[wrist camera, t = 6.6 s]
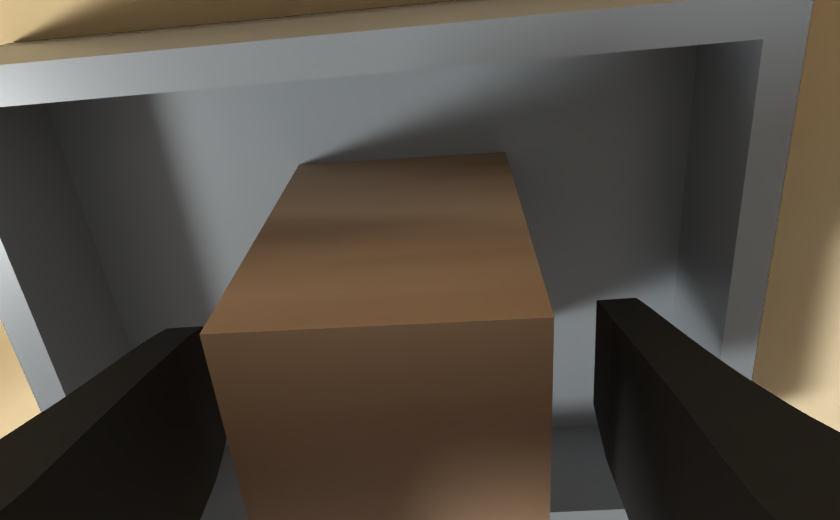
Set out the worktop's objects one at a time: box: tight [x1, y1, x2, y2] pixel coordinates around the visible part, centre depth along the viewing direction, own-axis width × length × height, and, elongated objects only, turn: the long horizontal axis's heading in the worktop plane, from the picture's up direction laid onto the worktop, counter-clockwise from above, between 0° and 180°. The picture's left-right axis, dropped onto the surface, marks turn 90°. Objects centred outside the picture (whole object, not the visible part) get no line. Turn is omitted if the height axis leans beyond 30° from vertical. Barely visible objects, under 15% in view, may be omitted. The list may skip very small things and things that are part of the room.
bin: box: [0, 0, 814, 520], centre depth 13 cm, size 10×13×3 cm
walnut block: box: [199, 152, 554, 520], centre depth 11 cm, size 4×4×6 cm
